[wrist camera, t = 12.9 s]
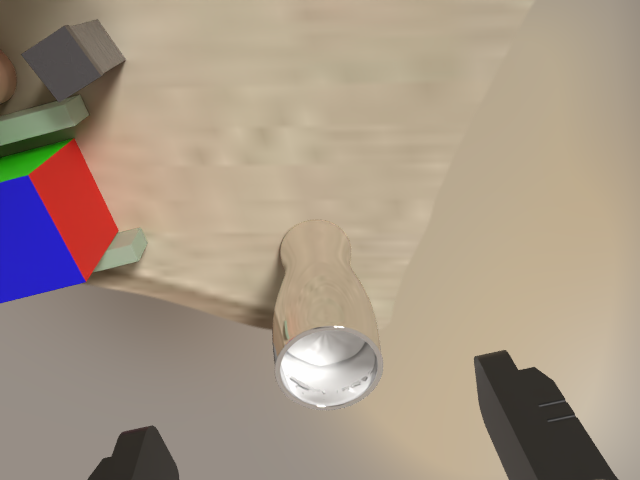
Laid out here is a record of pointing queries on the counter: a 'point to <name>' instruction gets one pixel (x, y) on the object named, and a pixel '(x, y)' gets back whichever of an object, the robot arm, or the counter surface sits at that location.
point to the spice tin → (73, 58)
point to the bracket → (59, 117)
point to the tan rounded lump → (6, 78)
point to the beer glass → (323, 322)
